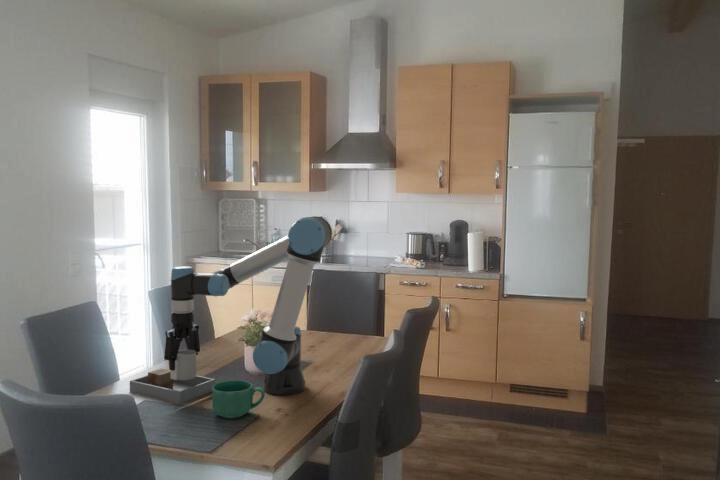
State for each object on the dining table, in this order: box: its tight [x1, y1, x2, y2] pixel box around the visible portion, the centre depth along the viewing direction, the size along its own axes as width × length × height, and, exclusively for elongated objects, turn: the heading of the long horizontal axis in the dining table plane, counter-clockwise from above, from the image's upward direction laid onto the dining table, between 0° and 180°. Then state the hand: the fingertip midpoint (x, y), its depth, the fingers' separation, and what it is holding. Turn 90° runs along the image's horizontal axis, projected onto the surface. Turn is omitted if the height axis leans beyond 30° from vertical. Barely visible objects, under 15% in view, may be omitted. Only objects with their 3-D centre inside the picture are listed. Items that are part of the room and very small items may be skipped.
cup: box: [172, 349, 197, 380], centre depth 216 cm, size 7×10×9 cm
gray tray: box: [129, 368, 216, 405], centre depth 219 cm, size 24×17×4 cm
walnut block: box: [147, 368, 173, 389], centre depth 222 cm, size 6×6×6 cm
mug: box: [211, 379, 266, 419], centre depth 198 cm, size 17×13×10 cm
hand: (182, 375), depth 216 cm, fingers closed on cup, 7 cm apart
